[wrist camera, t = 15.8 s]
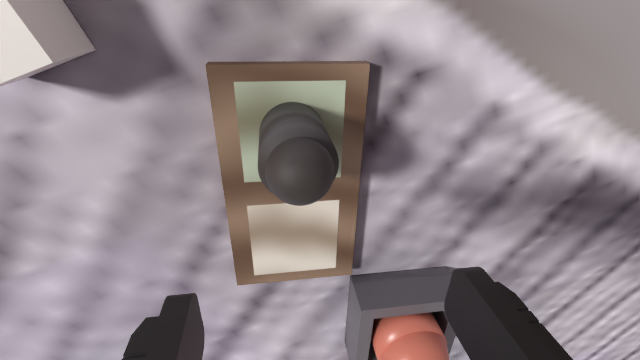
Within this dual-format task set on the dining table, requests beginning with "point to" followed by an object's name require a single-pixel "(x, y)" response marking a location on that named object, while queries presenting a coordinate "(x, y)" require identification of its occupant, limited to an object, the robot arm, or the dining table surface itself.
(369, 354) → the dome collar
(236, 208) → the board
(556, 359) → the robot arm
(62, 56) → the die
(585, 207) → the dining table surface
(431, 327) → the dome
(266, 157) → the pawn
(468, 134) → the dining table surface
